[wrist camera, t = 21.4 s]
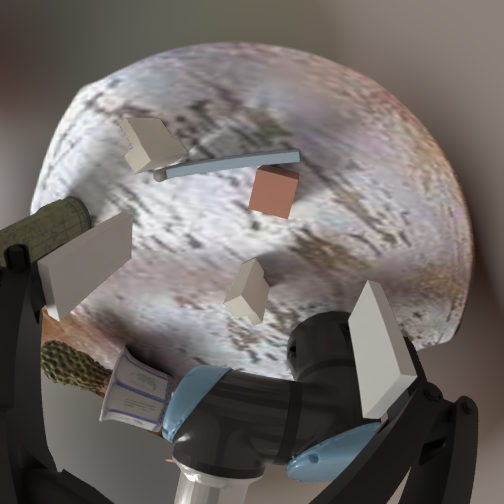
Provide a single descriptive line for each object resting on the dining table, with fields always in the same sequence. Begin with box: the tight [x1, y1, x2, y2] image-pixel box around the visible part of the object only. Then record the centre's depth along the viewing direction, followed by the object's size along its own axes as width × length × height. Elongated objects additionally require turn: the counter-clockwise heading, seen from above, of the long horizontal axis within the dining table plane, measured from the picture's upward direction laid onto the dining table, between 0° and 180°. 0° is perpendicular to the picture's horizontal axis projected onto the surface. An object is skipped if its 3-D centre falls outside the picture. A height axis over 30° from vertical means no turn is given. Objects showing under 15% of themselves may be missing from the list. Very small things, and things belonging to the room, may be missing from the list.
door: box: [153, 149, 300, 182], centre depth 30 cm, size 16×1×8 cm, turn 98°
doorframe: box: [119, 118, 270, 325], centre depth 33 cm, size 29×2×10 cm, turn 32°
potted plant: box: [41, 340, 176, 432], centre depth 46 cm, size 18×18×30 cm
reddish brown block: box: [248, 165, 299, 219], centre depth 32 cm, size 4×4×6 cm
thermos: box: [0, 196, 91, 267], centre depth 26 cm, size 9×12×35 cm
